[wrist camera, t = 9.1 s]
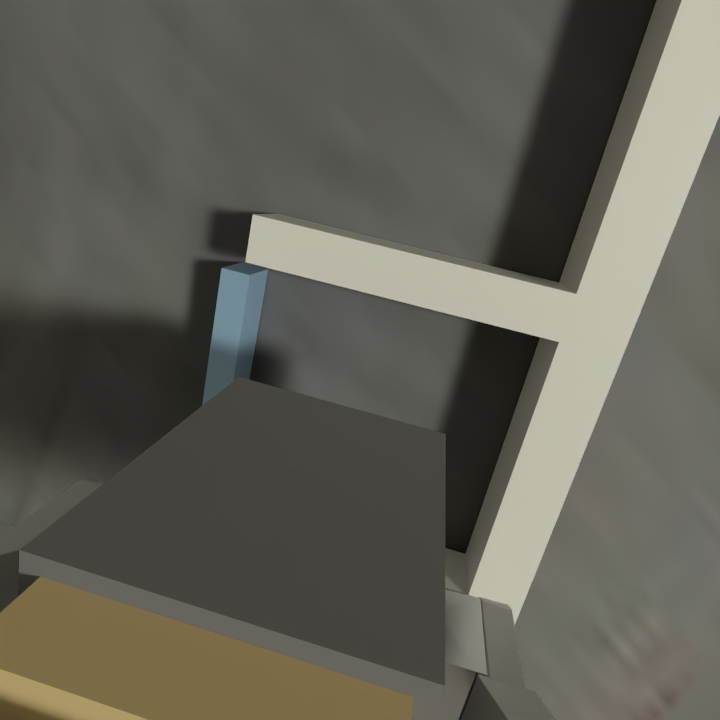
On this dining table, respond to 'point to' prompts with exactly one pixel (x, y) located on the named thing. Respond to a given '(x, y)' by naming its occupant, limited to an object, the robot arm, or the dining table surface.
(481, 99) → the dining table surface
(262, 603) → the grey tan-topped block
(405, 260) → the white e-shaped frame
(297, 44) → the dining table surface
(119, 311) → the dining table surface
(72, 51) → the dining table surface
